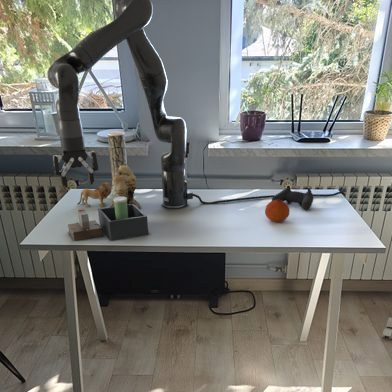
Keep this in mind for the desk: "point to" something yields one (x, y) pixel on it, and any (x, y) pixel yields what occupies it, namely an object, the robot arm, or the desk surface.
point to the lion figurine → (96, 194)
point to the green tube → (121, 208)
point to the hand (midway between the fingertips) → (78, 185)
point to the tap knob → (83, 218)
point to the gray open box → (123, 223)
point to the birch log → (117, 151)
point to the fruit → (277, 211)
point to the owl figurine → (124, 185)
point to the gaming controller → (295, 197)
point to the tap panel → (85, 231)
